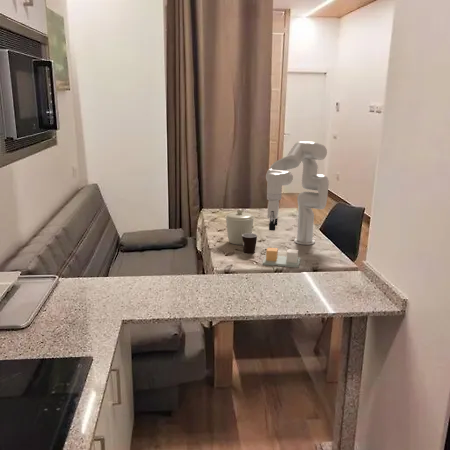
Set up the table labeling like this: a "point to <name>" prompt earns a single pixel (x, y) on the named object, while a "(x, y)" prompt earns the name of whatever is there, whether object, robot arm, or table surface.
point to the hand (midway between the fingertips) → (273, 227)
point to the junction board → (285, 259)
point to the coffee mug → (249, 242)
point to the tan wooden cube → (272, 254)
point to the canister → (238, 225)
